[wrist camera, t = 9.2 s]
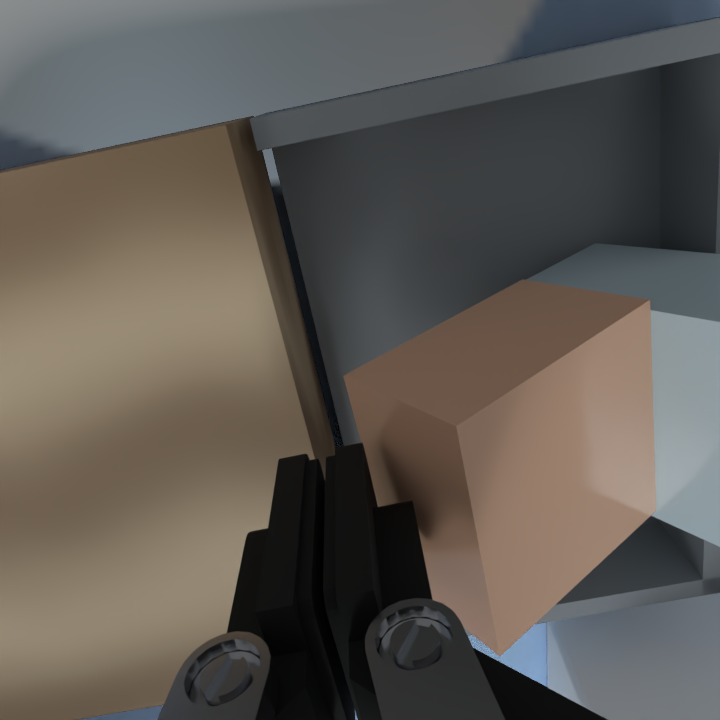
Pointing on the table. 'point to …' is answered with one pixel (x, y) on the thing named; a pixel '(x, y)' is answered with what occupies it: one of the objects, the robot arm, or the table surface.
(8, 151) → the table surface
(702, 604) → the medicine bottle
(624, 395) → the tile terracotta
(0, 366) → the board
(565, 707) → the robot arm
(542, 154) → the tray
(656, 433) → the tile slate
